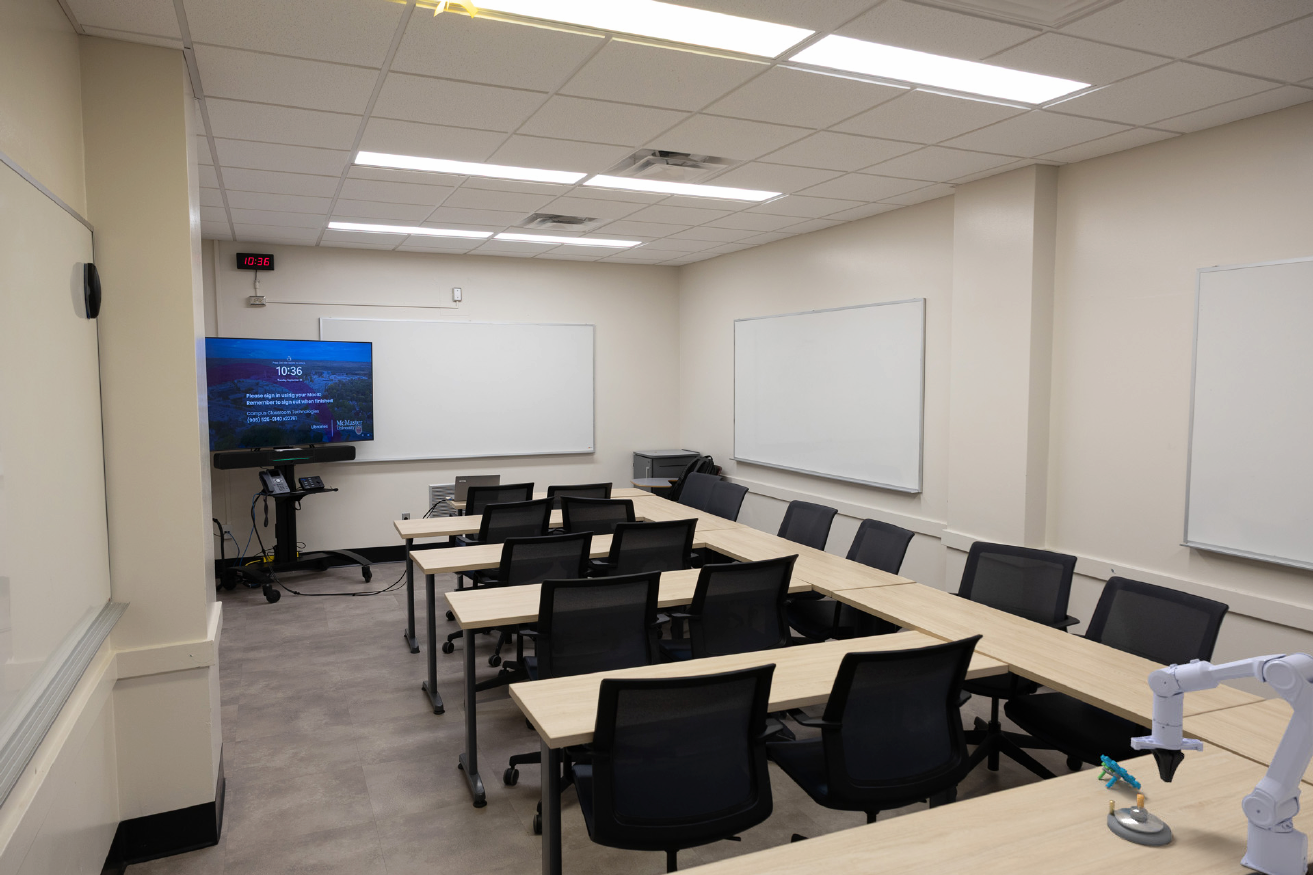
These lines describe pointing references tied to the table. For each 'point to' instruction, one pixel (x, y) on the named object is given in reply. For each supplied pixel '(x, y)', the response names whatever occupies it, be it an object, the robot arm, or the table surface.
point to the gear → (1116, 773)
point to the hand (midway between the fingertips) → (1165, 780)
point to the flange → (1139, 818)
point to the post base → (1136, 836)
